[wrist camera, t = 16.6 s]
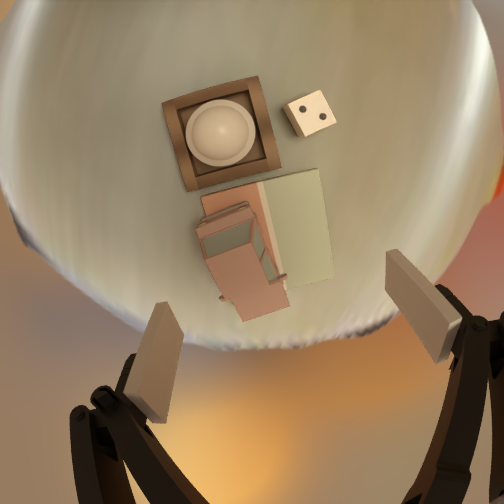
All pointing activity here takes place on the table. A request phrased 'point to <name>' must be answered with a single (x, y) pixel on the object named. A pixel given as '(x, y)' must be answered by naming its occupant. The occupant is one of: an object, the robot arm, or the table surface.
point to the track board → (287, 223)
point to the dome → (220, 133)
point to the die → (309, 114)
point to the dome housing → (255, 161)
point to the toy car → (242, 261)
